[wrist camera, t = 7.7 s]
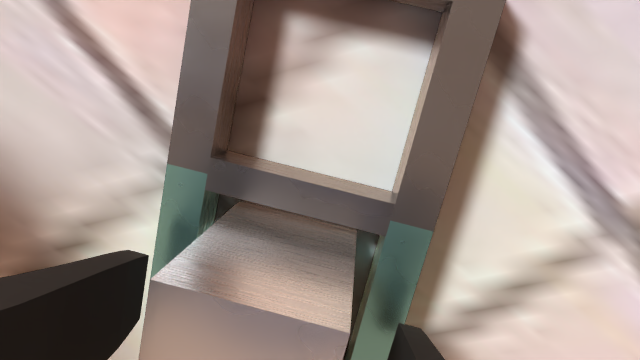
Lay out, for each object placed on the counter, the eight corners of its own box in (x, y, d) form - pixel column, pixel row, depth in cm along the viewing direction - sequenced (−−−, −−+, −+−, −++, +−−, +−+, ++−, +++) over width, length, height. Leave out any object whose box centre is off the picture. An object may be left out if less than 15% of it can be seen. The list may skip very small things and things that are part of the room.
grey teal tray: (159, 337, 15) (137, 363, 14) (224, -75, 12) (205, -98, 11) (370, 396, 15) (371, 430, 13) (496, -16, 12) (515, -30, 10)
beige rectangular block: (221, 304, 15) (126, 443, 9) (241, 199, 14) (150, 279, 8) (329, 334, 15) (304, 496, 9) (356, 229, 14) (350, 333, 8)
